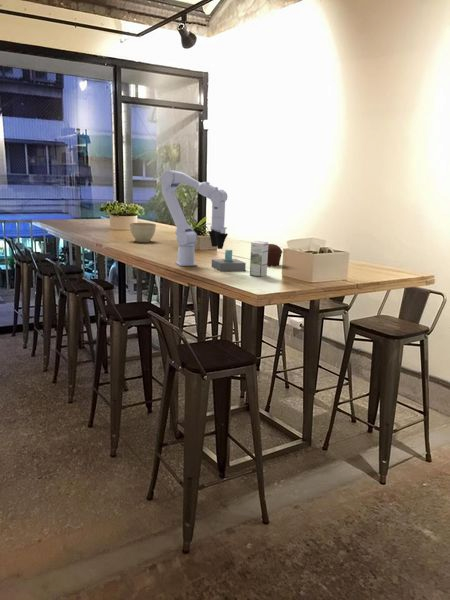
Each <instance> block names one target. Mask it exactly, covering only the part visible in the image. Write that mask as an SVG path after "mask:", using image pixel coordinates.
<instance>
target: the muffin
mask: <svg viewBox="0 0 450 600" xmlns="http://www.w3.org/2000/svg"><path fill="white" fill-rule="evenodd" d="M282 254H283V250H282V249H281V247H280V246H279V245H278V244H274V243H268V258H267V267H278V266H280V264H281V259H282V258H281V257H282Z"/></svg>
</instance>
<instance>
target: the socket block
mask: <svg viewBox="0 0 450 600" xmlns="http://www.w3.org/2000/svg"><path fill="white" fill-rule="evenodd" d="M210 266H211V268H213V269H214V270H217V271H219V272H239V271H241V272H242V271H243V272H245V271H246V262H244V261H242V260H239V259H238V258H232V262H225V258H214V259H213V258H212V259H211V265H210Z"/></svg>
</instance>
